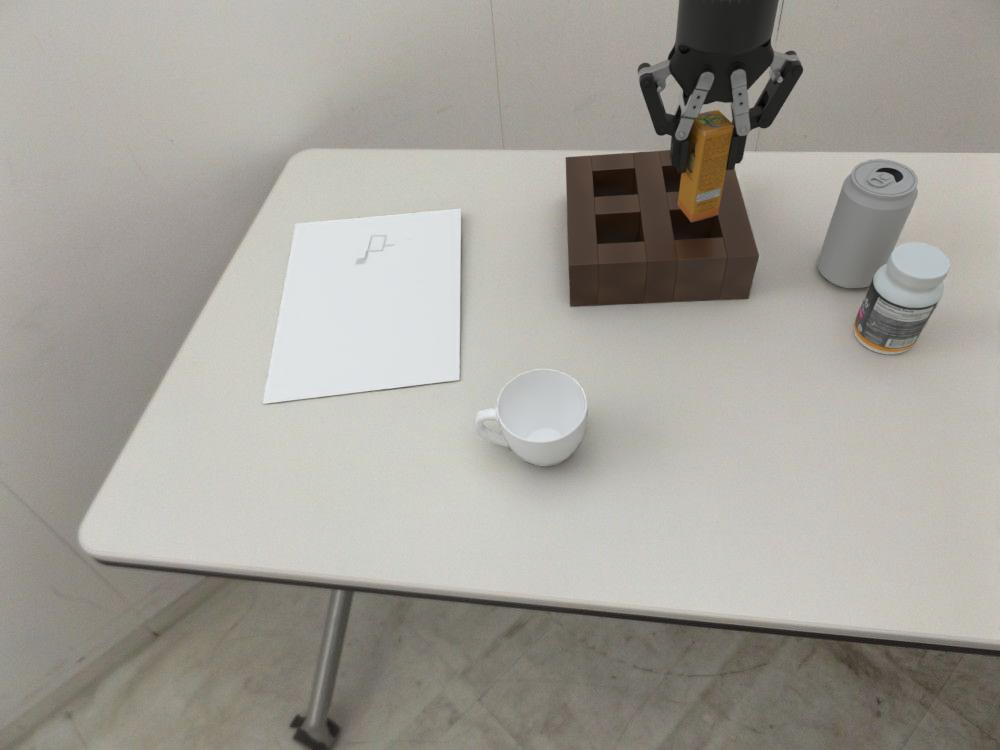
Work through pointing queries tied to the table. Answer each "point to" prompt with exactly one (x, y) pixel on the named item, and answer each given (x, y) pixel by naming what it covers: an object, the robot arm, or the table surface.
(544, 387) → the cup
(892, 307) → the pill bottle
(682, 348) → the table surface
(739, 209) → the peg board
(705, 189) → the supplement box
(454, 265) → the paper sheet
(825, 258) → the beverage can
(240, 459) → the table surface
